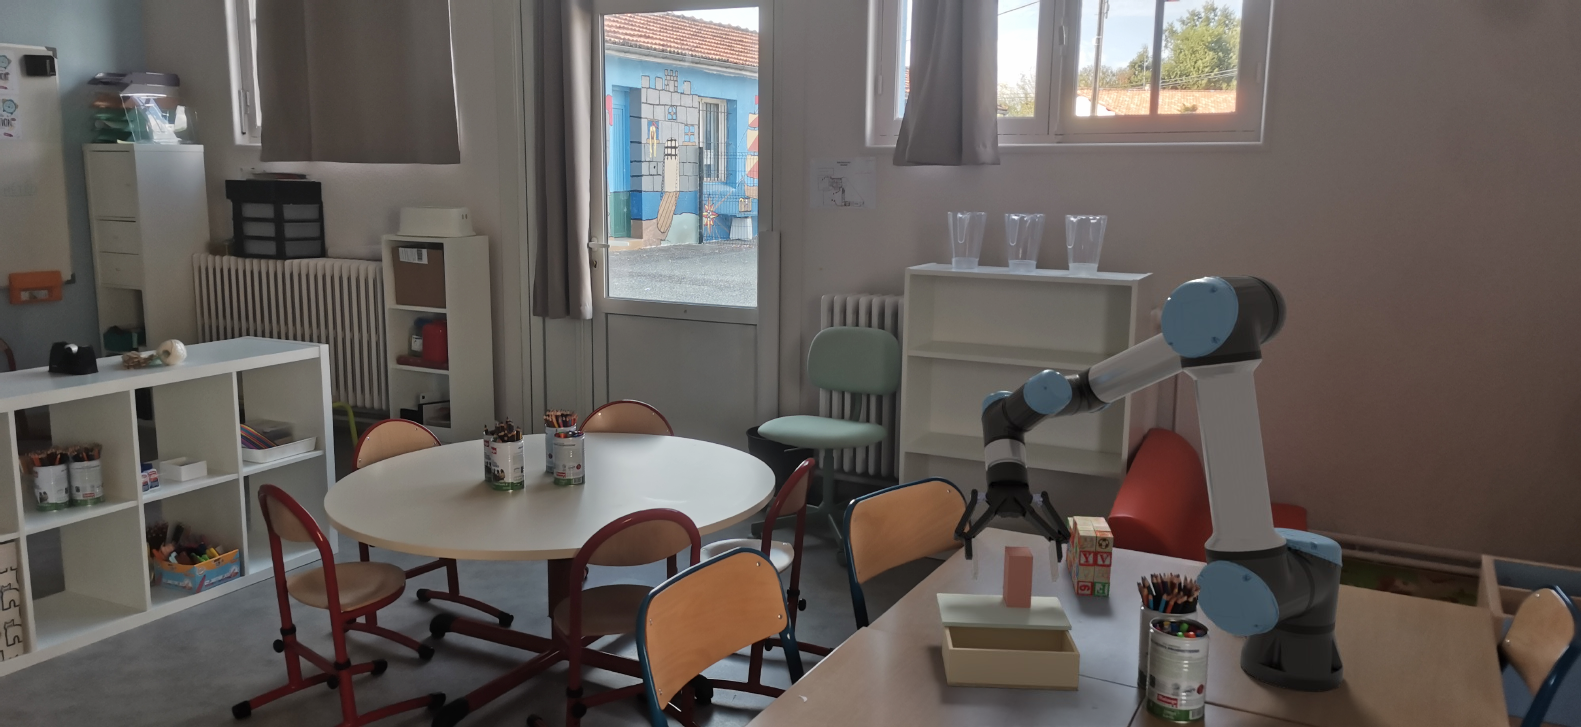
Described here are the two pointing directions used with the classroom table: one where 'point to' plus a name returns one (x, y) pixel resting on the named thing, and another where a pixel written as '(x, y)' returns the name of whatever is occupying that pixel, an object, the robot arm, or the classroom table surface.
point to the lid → (1006, 601)
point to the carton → (1010, 658)
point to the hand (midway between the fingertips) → (1015, 577)
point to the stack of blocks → (1090, 555)
